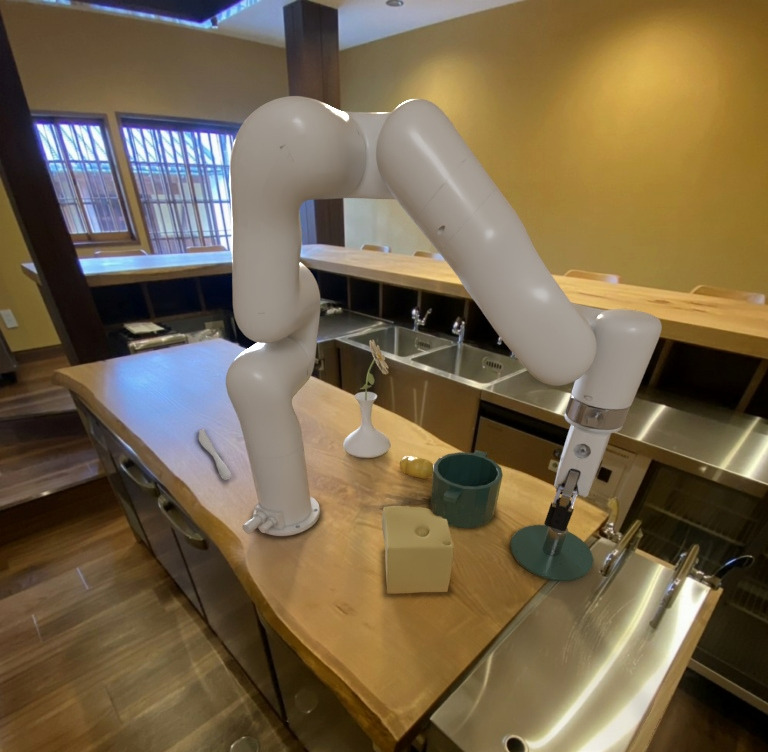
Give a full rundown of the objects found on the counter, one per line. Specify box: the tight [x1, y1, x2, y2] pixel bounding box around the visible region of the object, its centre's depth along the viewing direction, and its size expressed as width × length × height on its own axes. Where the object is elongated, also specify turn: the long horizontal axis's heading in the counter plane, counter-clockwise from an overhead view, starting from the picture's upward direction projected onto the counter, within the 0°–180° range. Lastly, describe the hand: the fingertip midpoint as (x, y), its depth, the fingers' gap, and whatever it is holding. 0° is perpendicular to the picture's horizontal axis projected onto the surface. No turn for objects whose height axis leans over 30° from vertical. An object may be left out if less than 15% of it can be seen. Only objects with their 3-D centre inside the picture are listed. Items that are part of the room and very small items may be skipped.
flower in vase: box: [342, 339, 392, 459], centre depth 95 cm, size 13×11×25 cm
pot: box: [429, 450, 504, 529], centre depth 82 cm, size 13×18×9 cm
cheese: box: [381, 505, 455, 595], centre depth 67 cm, size 10×11×10 cm
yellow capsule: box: [399, 455, 434, 480], centre depth 92 cm, size 8×4×4 cm, turn 62°
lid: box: [509, 524, 594, 582], centre depth 72 cm, size 14×14×6 cm
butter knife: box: [198, 428, 232, 481], centre depth 100 cm, size 1×27×3 cm
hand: (560, 510), depth 68 cm, fingers open, 9 cm apart
